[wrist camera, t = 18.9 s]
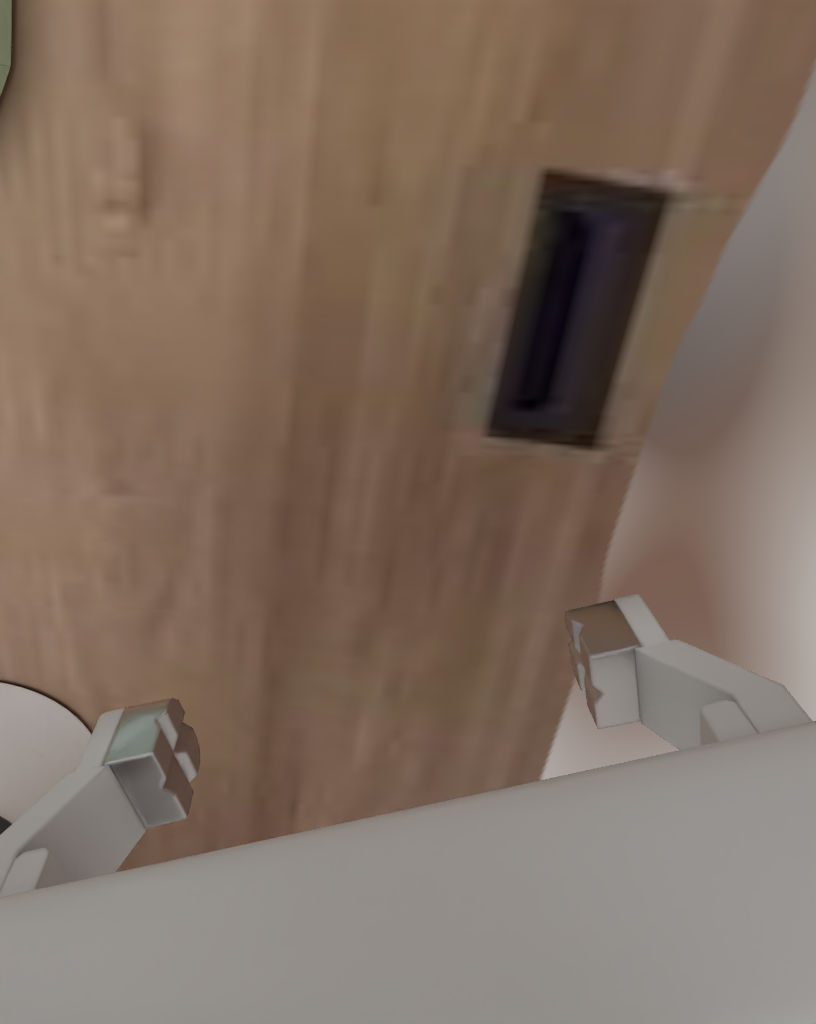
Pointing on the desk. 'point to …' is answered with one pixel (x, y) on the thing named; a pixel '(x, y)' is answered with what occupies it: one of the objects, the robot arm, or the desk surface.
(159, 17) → the desk surface
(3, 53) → the bowl
